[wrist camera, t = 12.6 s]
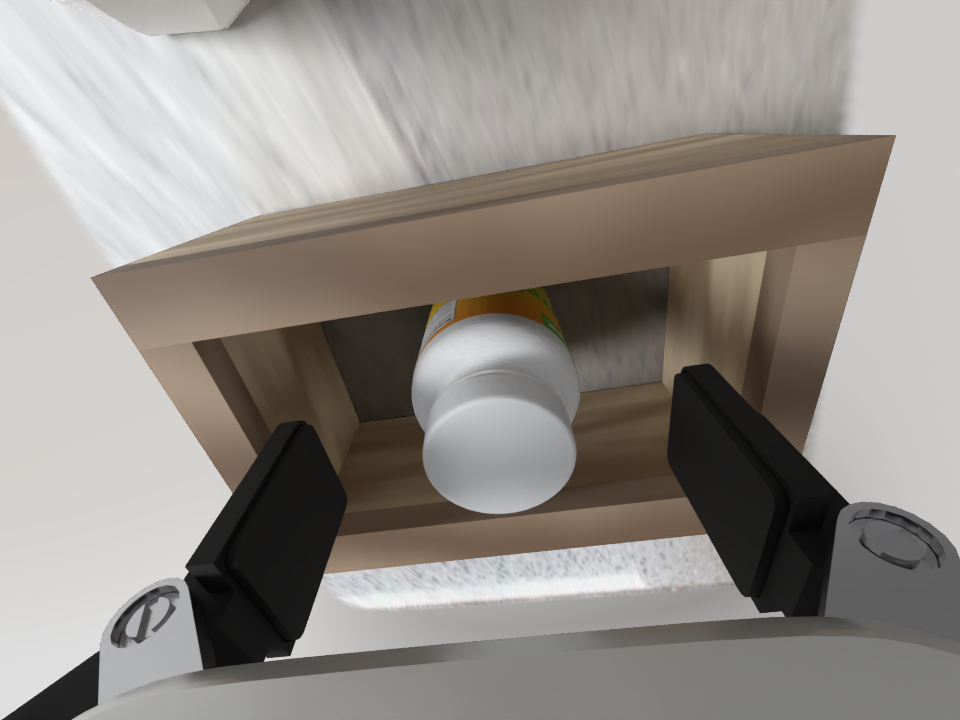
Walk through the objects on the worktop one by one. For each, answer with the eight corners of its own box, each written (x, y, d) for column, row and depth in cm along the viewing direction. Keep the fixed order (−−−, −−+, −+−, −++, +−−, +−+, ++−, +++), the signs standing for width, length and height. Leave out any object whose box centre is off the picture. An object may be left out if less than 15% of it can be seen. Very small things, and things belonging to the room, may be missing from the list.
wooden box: (254, 217, 17) (90, 277, 10) (704, 134, 15) (895, 135, 8) (348, 439, 22) (288, 577, 15) (680, 395, 21) (780, 526, 14)
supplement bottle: (573, 299, 18) (653, 441, 10) (502, 381, 21) (519, 555, 12) (475, 229, 17) (471, 328, 8) (410, 326, 19) (357, 481, 11)
